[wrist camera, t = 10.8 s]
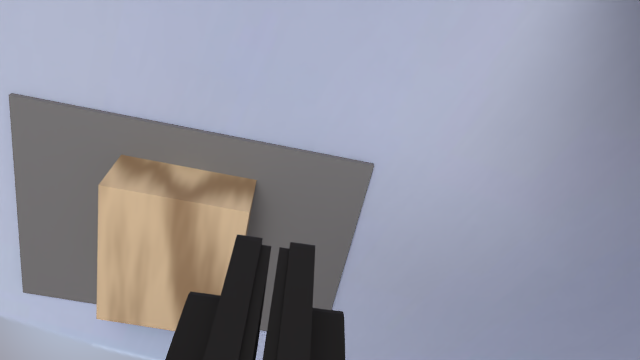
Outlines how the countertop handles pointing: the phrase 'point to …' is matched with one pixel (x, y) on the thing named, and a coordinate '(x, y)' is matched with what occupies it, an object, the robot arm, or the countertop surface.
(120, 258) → the slab
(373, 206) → the countertop surface
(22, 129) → the mat
